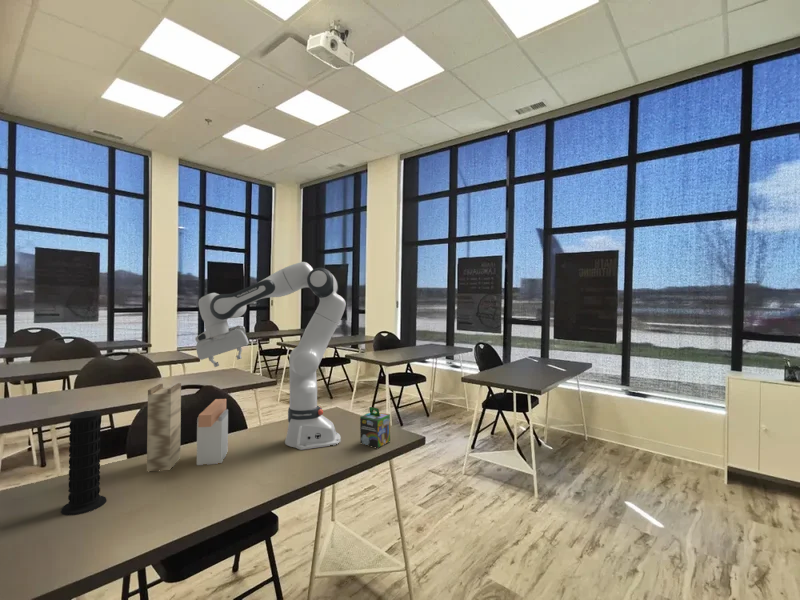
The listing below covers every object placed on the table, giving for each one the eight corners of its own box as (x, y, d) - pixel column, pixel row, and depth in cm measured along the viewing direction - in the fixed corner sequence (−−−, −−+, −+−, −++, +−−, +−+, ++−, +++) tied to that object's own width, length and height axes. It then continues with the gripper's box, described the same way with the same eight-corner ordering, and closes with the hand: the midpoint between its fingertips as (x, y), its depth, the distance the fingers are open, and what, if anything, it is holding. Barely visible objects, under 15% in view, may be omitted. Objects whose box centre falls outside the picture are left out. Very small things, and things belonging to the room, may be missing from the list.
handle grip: (50, 514, 104) (87, 515, 104) (51, 416, 104) (88, 416, 104) (81, 496, 114) (115, 496, 114) (82, 405, 114) (116, 406, 114)
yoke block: (227, 452, 147) (228, 409, 147) (221, 463, 138) (221, 416, 138) (204, 454, 146) (205, 410, 146) (196, 465, 136) (197, 418, 136)
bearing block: (180, 458, 141) (181, 383, 141) (169, 470, 131) (170, 389, 132) (158, 460, 140) (159, 383, 140) (146, 472, 130) (147, 390, 130)
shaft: (226, 408, 153) (226, 398, 153) (211, 426, 132) (211, 414, 132) (215, 409, 152) (215, 399, 152) (198, 427, 131) (198, 415, 131)
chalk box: (390, 442, 160) (391, 406, 160) (377, 449, 153) (378, 411, 153) (372, 437, 165) (373, 402, 165) (359, 444, 158) (359, 407, 158)
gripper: (244, 323, 169) (254, 354, 168) (196, 338, 165) (206, 369, 165) (241, 323, 162) (251, 355, 162) (191, 339, 159) (201, 371, 159)
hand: (228, 362), depth 163 cm, fingers open, 8 cm apart
